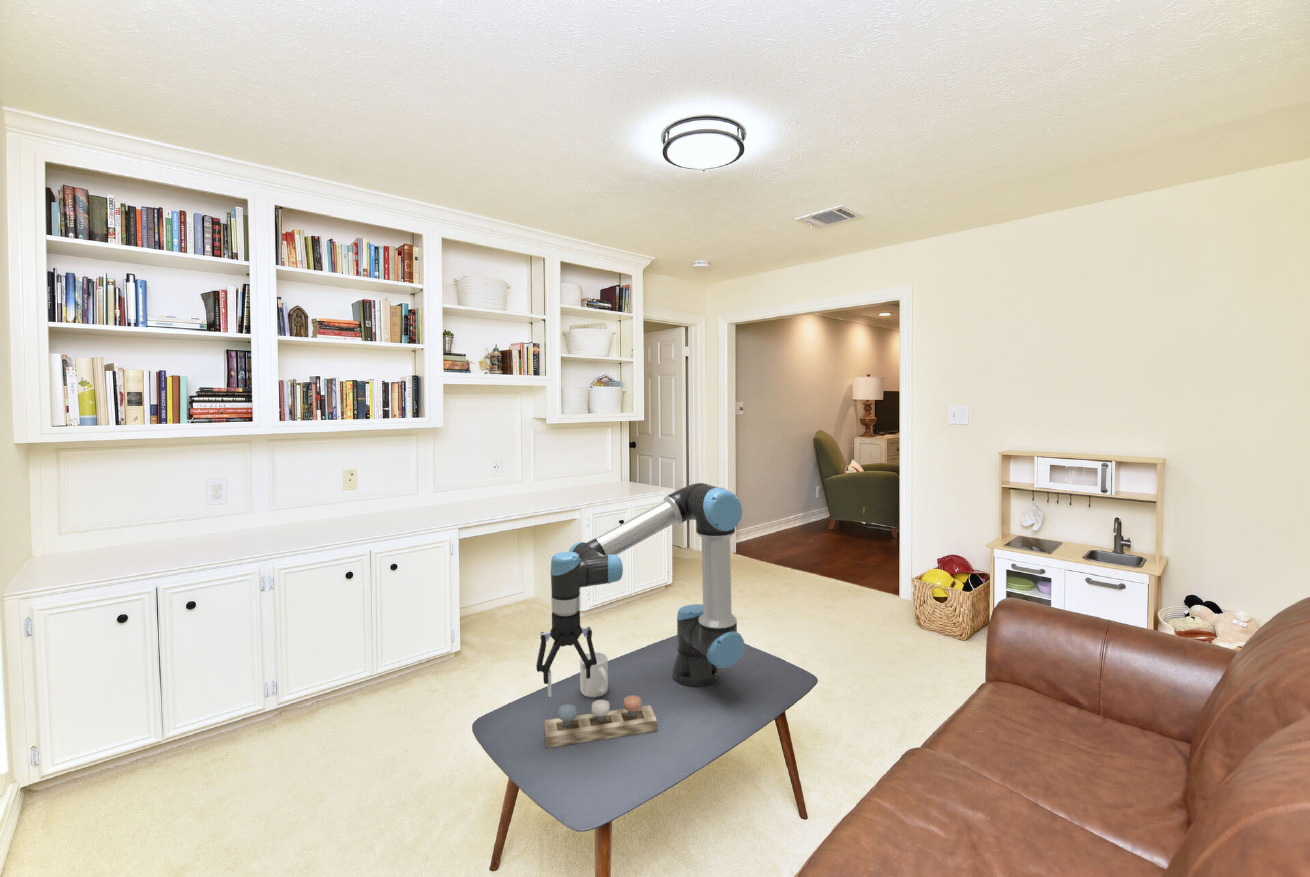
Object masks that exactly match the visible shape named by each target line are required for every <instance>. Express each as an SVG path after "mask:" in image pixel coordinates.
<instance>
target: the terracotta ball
mask: <svg viewBox="0 0 1310 877" xmlns="http://www.w3.org/2000/svg"><path fill="white" fill-rule="evenodd" d="M641 706H642V698H641V697H640V696H638V695H628V696H626V697H624V699H623V709H625V710H627V711H628V717H629V718H636V717H637V716H638V710H639V709H640V708H641Z"/></svg>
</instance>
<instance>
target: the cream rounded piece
mask: <svg viewBox="0 0 1310 877" xmlns="http://www.w3.org/2000/svg"><path fill="white" fill-rule="evenodd" d="M609 711H610V702H609V701H608V700H606V699H597V700H594V701H592V703H591V714H593V715H595V716H596V722H598V723H603V722H605V721H606V715H607V714H608V713H609Z"/></svg>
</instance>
